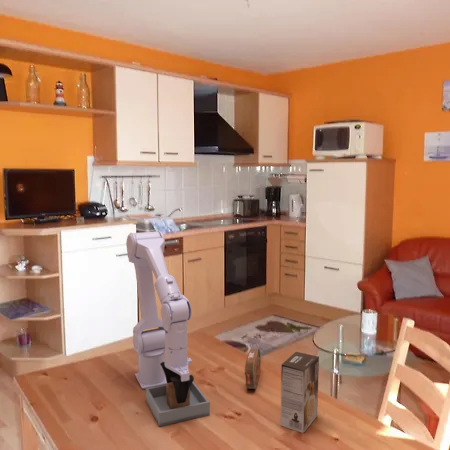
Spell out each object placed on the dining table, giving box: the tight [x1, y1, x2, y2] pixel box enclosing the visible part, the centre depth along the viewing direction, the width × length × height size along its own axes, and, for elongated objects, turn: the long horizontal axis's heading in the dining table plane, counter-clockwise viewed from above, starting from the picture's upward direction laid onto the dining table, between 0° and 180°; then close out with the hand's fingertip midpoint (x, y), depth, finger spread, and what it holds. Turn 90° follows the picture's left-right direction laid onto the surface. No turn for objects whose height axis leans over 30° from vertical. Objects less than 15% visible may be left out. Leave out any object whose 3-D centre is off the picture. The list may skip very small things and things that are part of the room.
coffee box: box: [280, 351, 320, 434], centre depth 111 cm, size 9×6×16 cm
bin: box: [145, 381, 211, 428], centre depth 117 cm, size 13×13×4 cm
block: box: [165, 382, 190, 409], centre depth 117 cm, size 4×5×6 cm
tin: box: [244, 348, 261, 390], centre depth 131 cm, size 15×3×8 cm, turn 168°
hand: (176, 395), depth 117 cm, fingers open, 7 cm apart
